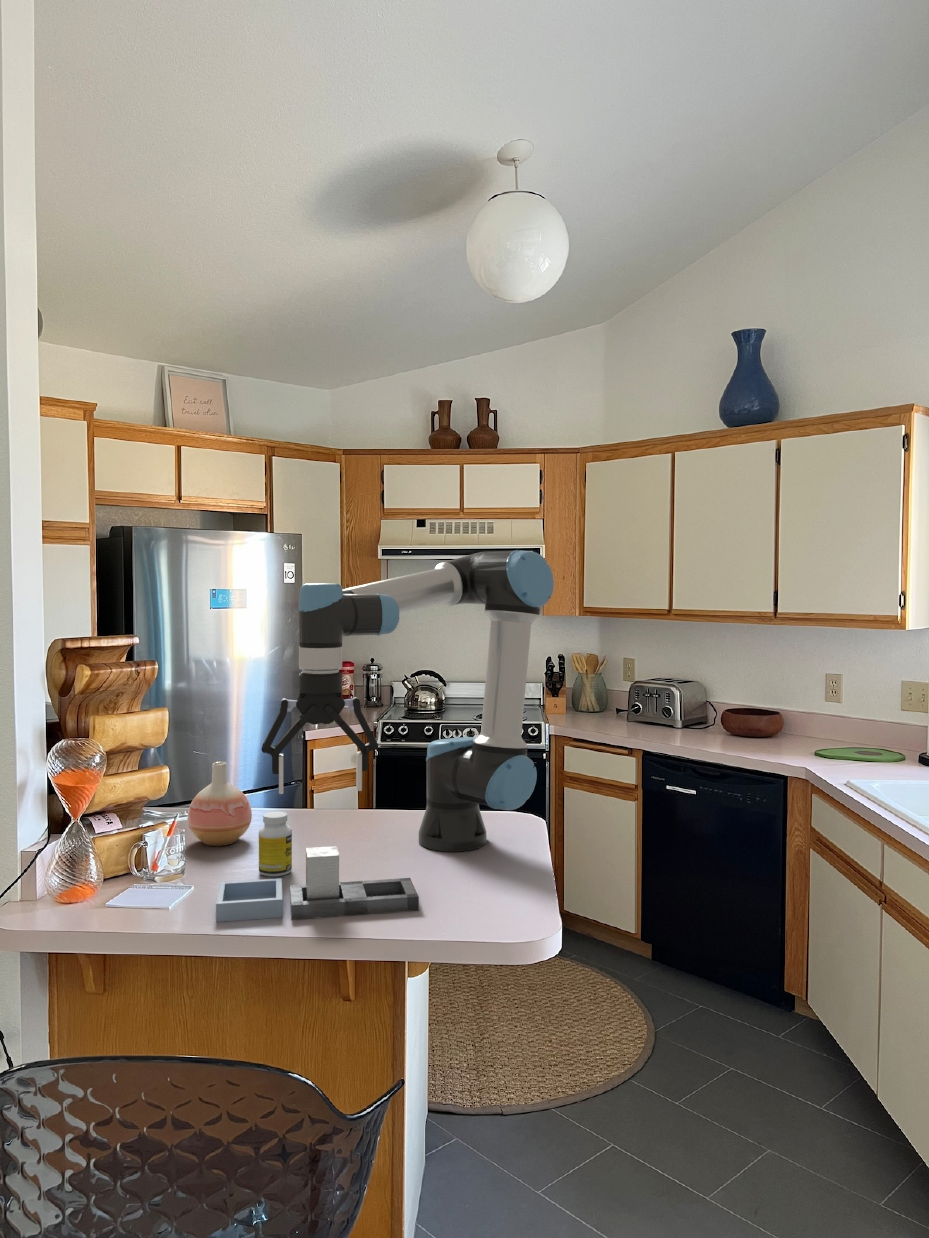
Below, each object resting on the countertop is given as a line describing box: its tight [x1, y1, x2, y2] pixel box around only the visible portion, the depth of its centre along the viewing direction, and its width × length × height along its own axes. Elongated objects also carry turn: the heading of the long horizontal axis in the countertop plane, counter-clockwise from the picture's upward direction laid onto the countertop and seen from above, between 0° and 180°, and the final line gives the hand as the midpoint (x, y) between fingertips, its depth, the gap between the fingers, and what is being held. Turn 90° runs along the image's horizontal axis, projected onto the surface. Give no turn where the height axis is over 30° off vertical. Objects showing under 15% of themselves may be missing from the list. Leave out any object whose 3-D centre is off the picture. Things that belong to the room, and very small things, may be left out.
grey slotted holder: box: [289, 877, 420, 921], centre depth 159 cm, size 22×10×2 cm, turn 102°
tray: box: [215, 878, 283, 923], centre depth 157 cm, size 11×11×3 cm
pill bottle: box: [258, 811, 293, 878], centre depth 175 cm, size 6×6×12 cm
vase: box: [187, 761, 253, 847], centre depth 195 cm, size 14×14×18 cm
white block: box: [305, 845, 340, 901], centre depth 157 cm, size 6×6×10 cm
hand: (320, 790), depth 157 cm, fingers open, 13 cm apart
